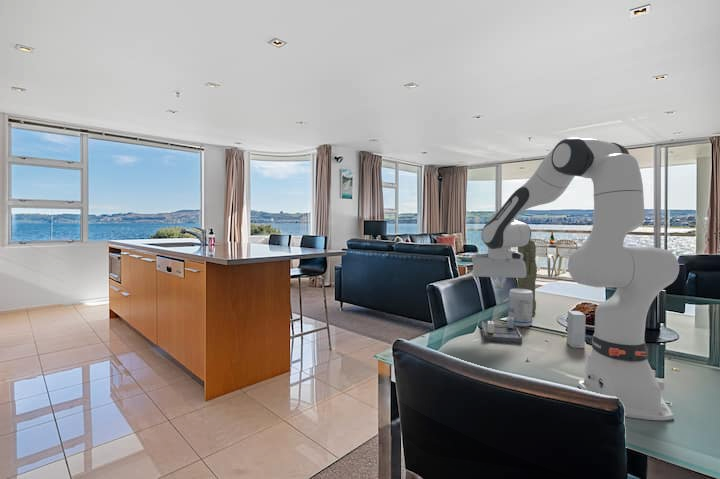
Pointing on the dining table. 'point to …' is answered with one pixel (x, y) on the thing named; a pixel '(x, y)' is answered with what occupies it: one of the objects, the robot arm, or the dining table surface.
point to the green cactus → (529, 270)
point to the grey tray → (502, 334)
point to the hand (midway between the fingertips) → (498, 288)
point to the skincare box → (576, 329)
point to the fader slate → (510, 322)
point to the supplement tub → (521, 306)
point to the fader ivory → (490, 327)
